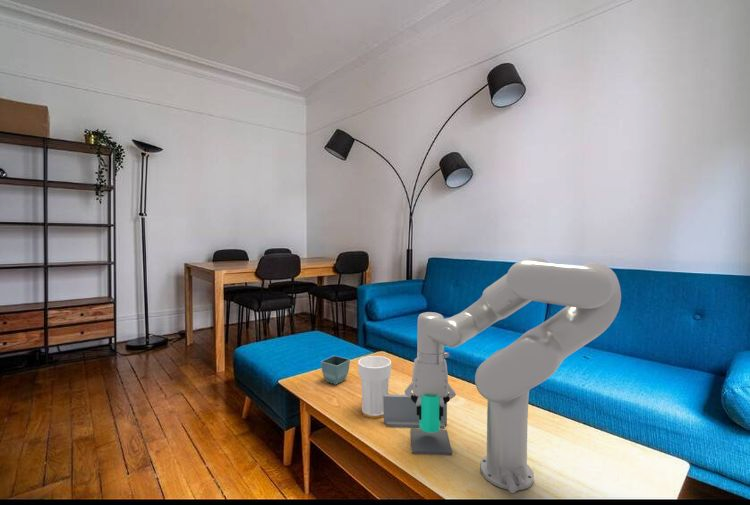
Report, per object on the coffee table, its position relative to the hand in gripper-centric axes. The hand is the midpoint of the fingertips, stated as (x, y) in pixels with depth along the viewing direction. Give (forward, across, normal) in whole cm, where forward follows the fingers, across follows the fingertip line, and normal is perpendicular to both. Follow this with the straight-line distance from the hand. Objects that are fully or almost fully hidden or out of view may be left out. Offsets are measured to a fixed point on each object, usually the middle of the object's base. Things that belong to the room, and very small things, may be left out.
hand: (429, 417), depth 102 cm
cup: (+8, +17, -17) cm, 25 cm away
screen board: (+8, +4, -10) cm, 13 cm away
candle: (+3, 0, 0) cm, 3 cm away
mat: (+8, 0, 0) cm, 8 cm away
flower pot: (+8, +35, -40) cm, 54 cm away
